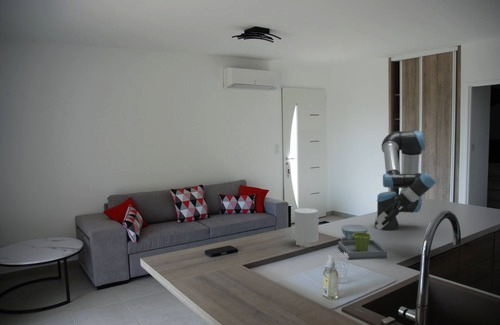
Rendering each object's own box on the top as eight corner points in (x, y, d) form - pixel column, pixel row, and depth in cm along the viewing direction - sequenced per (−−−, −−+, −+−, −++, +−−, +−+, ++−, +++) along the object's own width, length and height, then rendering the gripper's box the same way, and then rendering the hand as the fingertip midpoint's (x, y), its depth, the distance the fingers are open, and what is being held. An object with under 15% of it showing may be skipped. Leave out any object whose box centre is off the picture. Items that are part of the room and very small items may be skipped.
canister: (304, 249, 217) (303, 214, 214) (290, 242, 228) (290, 209, 226) (323, 245, 223) (322, 211, 221) (309, 239, 235) (308, 206, 233)
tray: (338, 247, 218) (338, 241, 218) (373, 245, 219) (373, 239, 218) (348, 259, 198) (348, 252, 198) (386, 257, 199) (386, 251, 198)
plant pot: (371, 253, 203) (371, 237, 202) (353, 253, 205) (353, 237, 204) (370, 248, 212) (370, 232, 211) (352, 247, 214) (352, 232, 213)
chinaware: (338, 242, 226) (338, 229, 225) (344, 235, 239) (344, 223, 239) (364, 245, 219) (364, 232, 218) (369, 238, 232) (369, 225, 232)
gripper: (416, 208, 186) (383, 236, 192) (410, 197, 210) (381, 223, 216) (404, 197, 187) (372, 226, 193) (400, 188, 211) (371, 213, 217)
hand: (377, 224), depth 205 cm, fingers open, 13 cm apart
